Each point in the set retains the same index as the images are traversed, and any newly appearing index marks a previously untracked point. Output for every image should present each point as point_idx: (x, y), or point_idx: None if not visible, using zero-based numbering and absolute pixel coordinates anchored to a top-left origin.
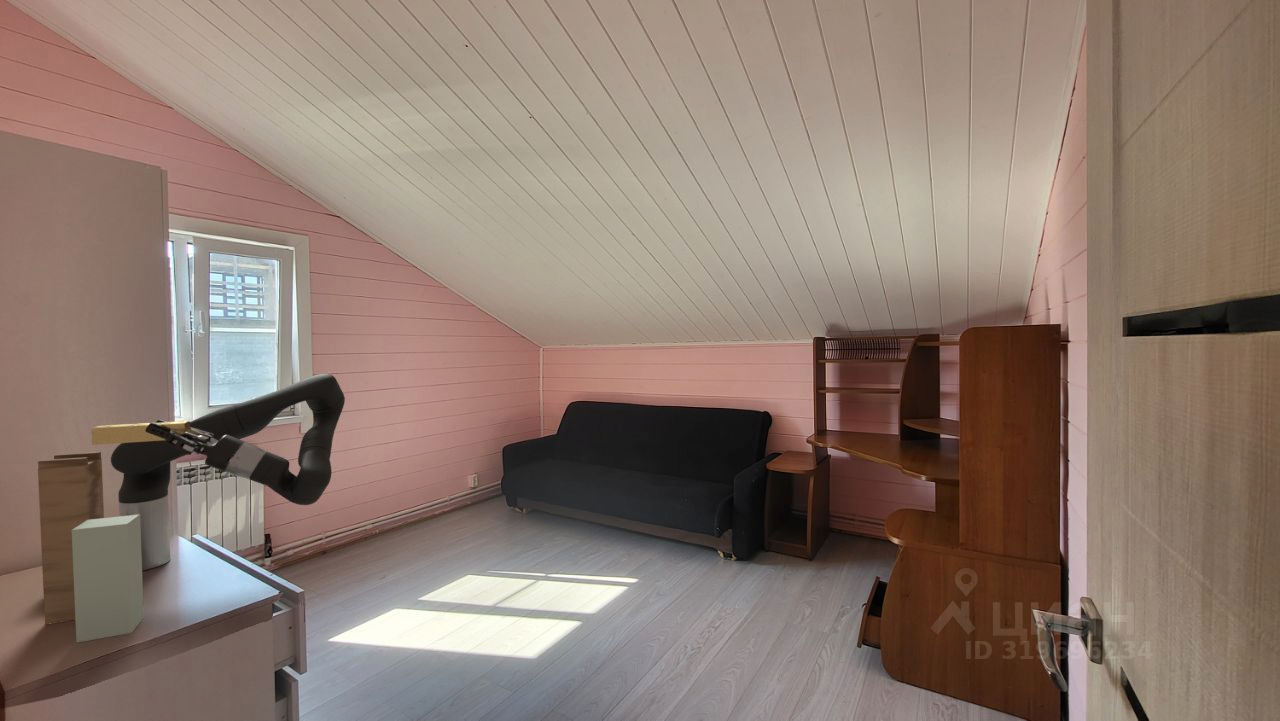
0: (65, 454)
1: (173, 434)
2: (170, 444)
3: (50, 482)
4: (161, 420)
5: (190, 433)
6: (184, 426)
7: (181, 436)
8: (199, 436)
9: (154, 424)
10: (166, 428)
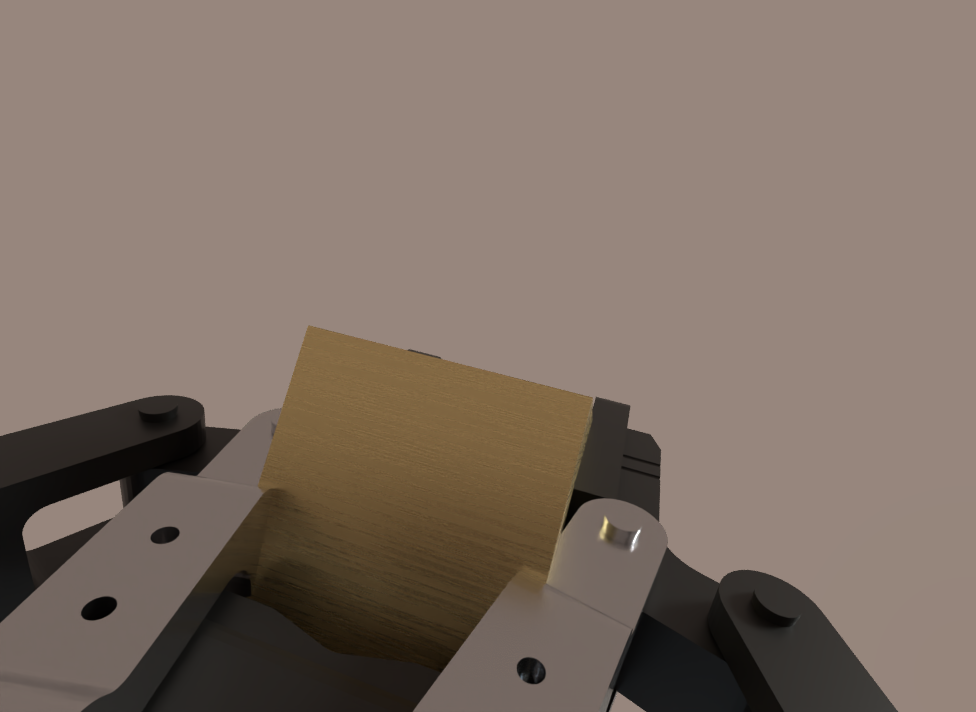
0: None
1: (112, 411)
2: (82, 541)
3: None
4: (604, 404)
5: (186, 530)
6: (290, 384)
7: (48, 463)
8: (11, 678)
9: None
10: None
